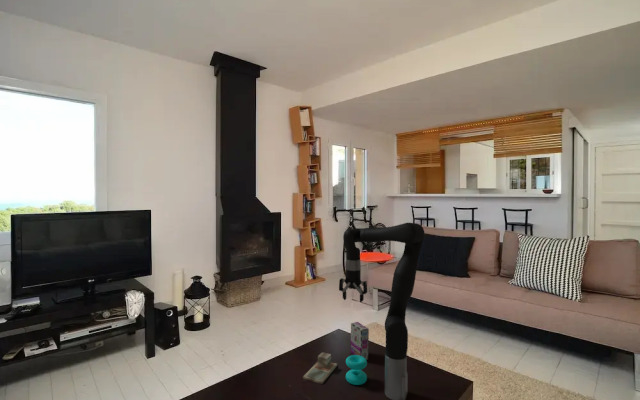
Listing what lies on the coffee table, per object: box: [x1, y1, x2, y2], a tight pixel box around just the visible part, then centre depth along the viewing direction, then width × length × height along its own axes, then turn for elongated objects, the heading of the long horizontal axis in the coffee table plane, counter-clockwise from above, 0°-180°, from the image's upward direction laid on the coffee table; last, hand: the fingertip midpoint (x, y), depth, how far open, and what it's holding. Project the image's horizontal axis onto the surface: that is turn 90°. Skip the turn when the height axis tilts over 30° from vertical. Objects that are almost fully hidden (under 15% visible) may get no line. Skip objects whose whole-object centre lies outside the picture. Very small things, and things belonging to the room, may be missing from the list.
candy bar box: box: [350, 321, 370, 360], centre depth 173 cm, size 11×5×16 cm, turn 25°
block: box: [317, 351, 332, 369], centre depth 160 cm, size 5×5×5 cm
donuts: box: [345, 354, 368, 386], centre depth 149 cm, size 10×10×10 cm
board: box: [302, 360, 338, 385], centre depth 156 cm, size 10×18×1 cm, turn 155°
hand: (352, 300), depth 160 cm, fingers open, 8 cm apart
